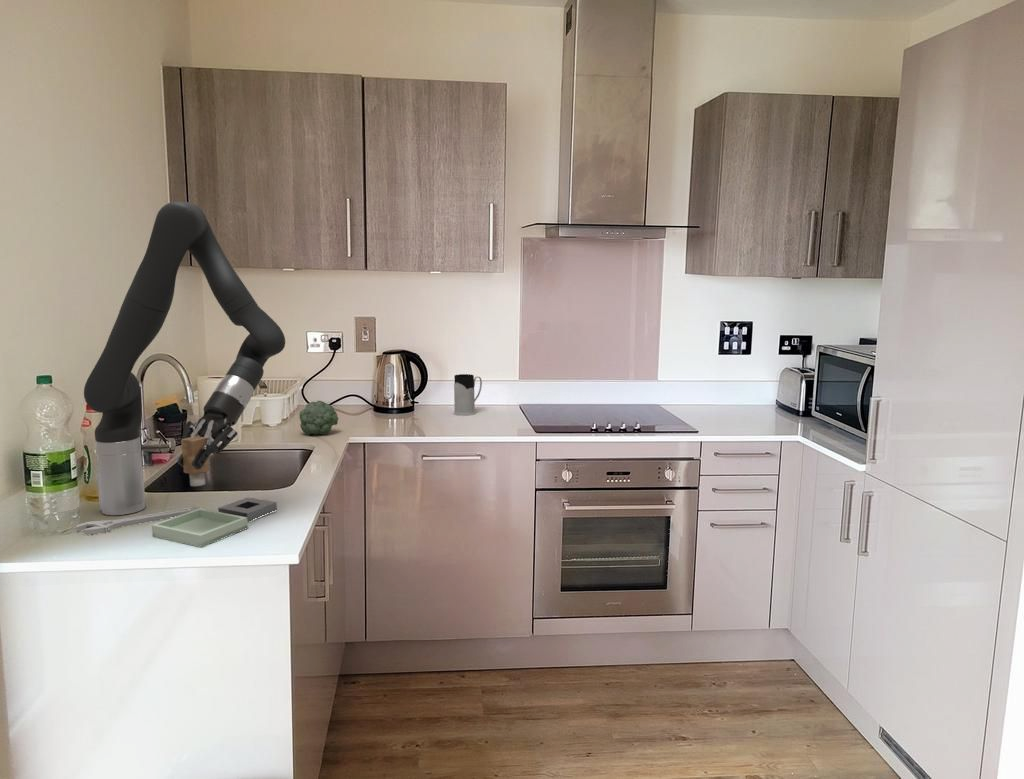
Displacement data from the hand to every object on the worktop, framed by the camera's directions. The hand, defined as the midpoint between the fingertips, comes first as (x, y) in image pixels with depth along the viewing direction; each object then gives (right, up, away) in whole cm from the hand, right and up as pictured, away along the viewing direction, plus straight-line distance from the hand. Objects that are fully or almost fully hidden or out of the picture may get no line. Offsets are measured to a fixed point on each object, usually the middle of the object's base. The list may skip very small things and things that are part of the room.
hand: (188, 465), depth 158 cm
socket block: (+7, -13, +16) cm, 22 cm away
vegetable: (+1, +1, +102) cm, 102 cm away
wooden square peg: (+1, -4, +2) cm, 5 cm away
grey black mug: (+51, +7, +138) cm, 148 cm away
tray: (+1, -15, +4) cm, 15 cm away
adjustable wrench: (-15, -14, +11) cm, 23 cm away
